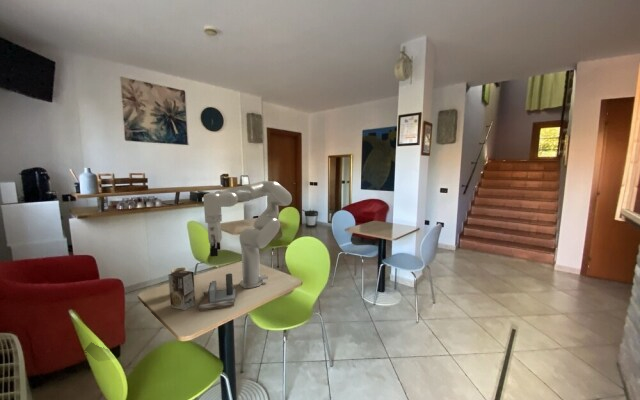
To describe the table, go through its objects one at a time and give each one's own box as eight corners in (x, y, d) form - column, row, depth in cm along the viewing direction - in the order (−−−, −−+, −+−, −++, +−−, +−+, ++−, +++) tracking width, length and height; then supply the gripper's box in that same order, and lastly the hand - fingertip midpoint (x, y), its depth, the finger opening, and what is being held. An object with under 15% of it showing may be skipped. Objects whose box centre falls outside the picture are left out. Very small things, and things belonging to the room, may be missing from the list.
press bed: (234, 292, 137) (234, 287, 137) (233, 306, 123) (233, 301, 123) (203, 296, 133) (203, 291, 133) (199, 311, 119) (198, 305, 118)
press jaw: (235, 291, 135) (234, 270, 134) (234, 301, 125) (234, 278, 124) (210, 294, 132) (209, 272, 131) (208, 305, 121) (207, 281, 120)
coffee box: (196, 304, 125) (194, 271, 123) (185, 310, 119) (183, 276, 117) (181, 301, 128) (179, 269, 126) (170, 307, 122) (167, 274, 120)
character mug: (185, 288, 142) (184, 265, 141) (194, 290, 139) (192, 267, 137) (165, 296, 132) (164, 271, 131) (174, 299, 129) (173, 274, 128)
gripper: (219, 221, 118) (221, 258, 121) (223, 215, 135) (225, 247, 137) (201, 222, 117) (204, 259, 119) (208, 215, 133) (210, 248, 136)
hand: (215, 252), depth 128 cm, fingers open, 9 cm apart
